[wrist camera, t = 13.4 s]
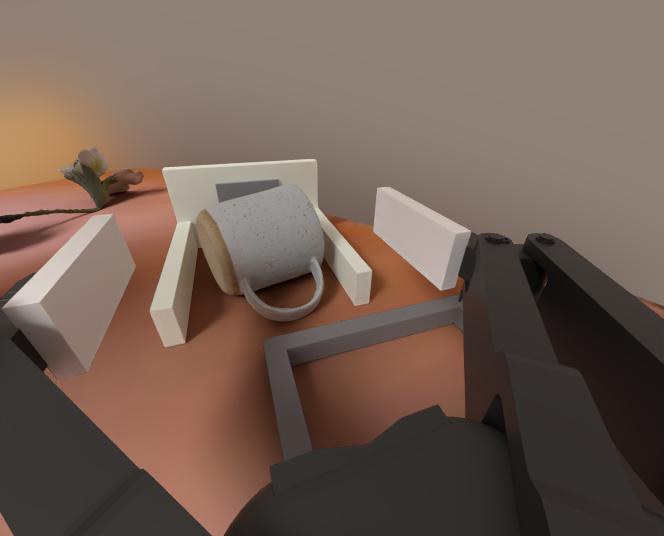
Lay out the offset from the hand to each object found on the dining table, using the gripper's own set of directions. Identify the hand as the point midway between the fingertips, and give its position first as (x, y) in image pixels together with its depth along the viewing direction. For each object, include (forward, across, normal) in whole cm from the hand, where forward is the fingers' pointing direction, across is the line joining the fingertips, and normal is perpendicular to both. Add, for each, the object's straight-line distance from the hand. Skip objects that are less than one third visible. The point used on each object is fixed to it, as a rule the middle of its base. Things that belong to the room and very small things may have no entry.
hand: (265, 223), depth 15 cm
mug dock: (+8, 0, -8) cm, 11 cm away
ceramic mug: (+6, +1, -8) cm, 10 cm away
